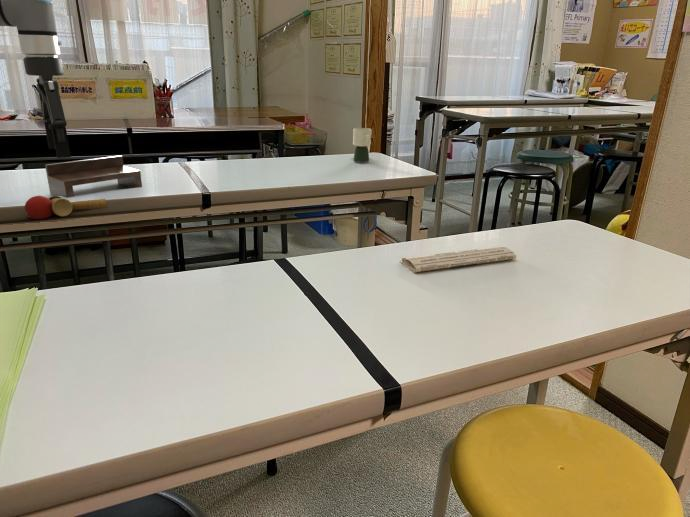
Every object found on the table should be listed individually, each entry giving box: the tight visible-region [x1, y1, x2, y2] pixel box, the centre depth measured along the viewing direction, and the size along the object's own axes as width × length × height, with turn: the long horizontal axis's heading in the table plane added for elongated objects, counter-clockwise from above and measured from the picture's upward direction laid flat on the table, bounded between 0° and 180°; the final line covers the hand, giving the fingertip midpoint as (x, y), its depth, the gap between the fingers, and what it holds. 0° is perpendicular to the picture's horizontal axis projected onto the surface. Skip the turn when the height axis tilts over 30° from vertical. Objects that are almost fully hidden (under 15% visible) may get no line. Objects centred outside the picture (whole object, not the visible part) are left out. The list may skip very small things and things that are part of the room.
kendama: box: [24, 195, 108, 220], centre depth 126 cm, size 8×6×18 cm
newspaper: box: [399, 245, 517, 273], centre depth 105 cm, size 24×7×2 cm, turn 112°
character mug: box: [352, 127, 372, 163], centre depth 203 cm, size 11×7×13 cm, turn 27°
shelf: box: [44, 155, 143, 199], centre depth 149 cm, size 22×11×8 cm, turn 140°
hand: (59, 152), depth 122 cm, fingers open, 13 cm apart
